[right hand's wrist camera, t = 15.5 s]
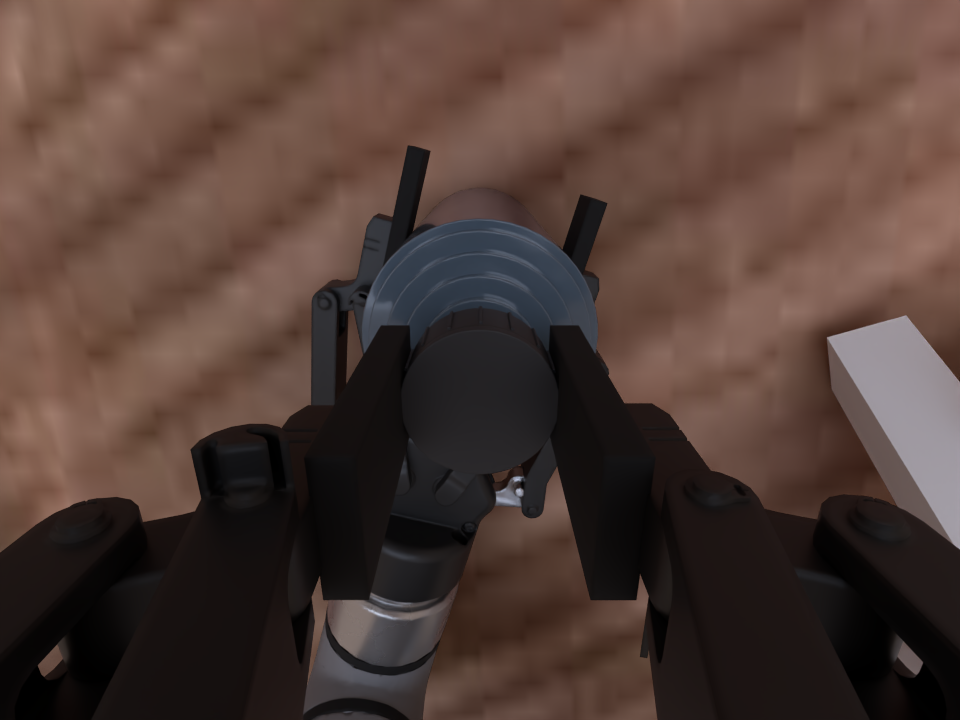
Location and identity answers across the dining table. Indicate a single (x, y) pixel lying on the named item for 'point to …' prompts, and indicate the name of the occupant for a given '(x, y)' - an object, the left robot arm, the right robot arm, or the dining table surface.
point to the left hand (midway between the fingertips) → (507, 174)
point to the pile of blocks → (903, 421)
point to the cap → (479, 392)
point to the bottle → (479, 271)
